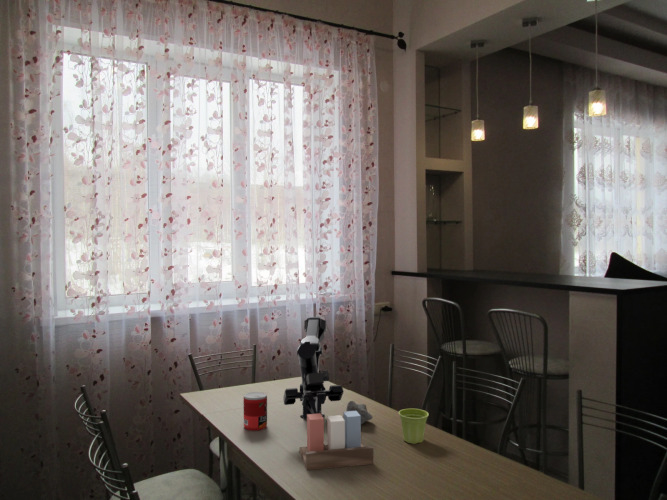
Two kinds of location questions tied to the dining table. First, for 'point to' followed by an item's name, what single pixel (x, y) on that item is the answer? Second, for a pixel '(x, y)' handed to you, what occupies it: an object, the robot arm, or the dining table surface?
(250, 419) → the canned food
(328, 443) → the white tall block
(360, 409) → the fossil
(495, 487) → the dining table surface
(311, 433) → the red rectangular block
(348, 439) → the light blue tall block
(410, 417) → the plant pot
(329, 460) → the wooden block stand
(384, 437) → the dining table surface
